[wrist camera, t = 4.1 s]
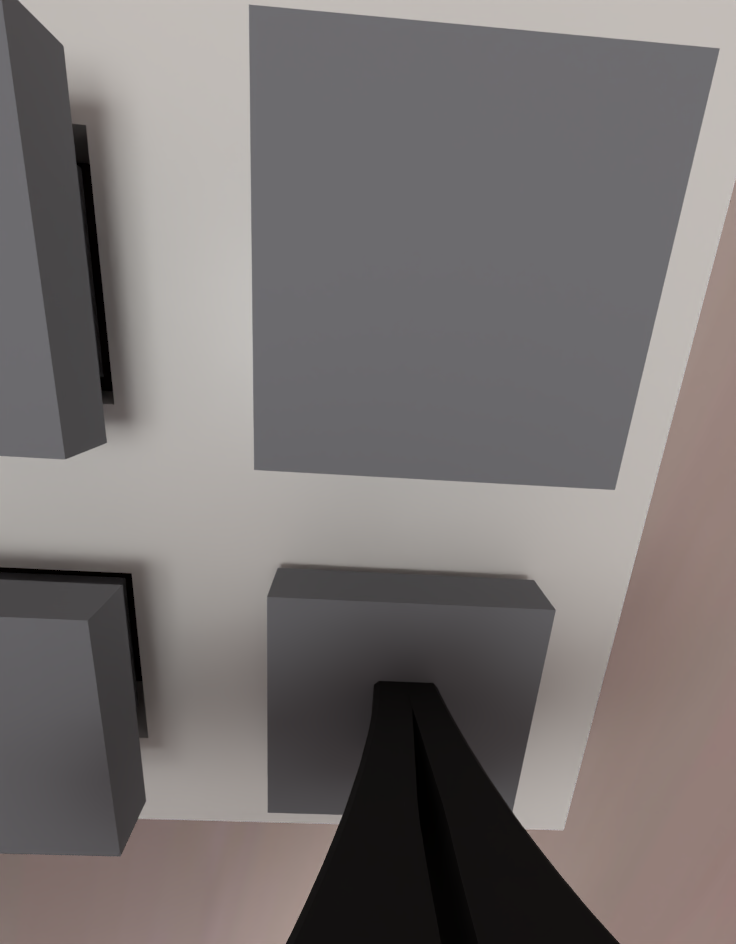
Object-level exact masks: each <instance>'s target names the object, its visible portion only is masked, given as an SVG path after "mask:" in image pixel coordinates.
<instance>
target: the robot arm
mask: <svg viewBox="0 0 736 944" xmlns="http://www.w3.org/2000/svg"><path fill="white" fill-rule="evenodd" d="M286 944H620V943H619V942H618V941H617V940H616V939H615V938H614V937H613V936H612V935H611V933H610V932H609V931H608V930H607V929H606V928H605V927H604V926H603V925H602V923H601V922H600V921H599V920H598V919H597V918H596V917H595V916H594V915H593V913H592V912H591V911H590V910H589V909H588V908H587V907H586V905H585V904H584V903H583V902H582V901H581V899H580V898H579V897H578V896H577V895H576V893H575V892H574V891H573V890H572V888H571V887H570V886H569V885H568V884H567V882H566V881H565V880H564V879H563V878H562V876H561V875H560V874H559V873H558V872H557V870H556V869H555V868H554V866H553V865H552V864H551V863H550V861H549V860H548V859H547V858H546V856H545V855H544V854H543V852H542V851H541V850H540V849H539V847H538V846H537V845H536V843H535V842H534V841H533V839H532V838H531V837H530V835H529V834H528V833H527V831H526V830H525V829H524V827H523V826H522V825H521V823H520V822H519V820H518V819H517V818H516V816H515V815H514V813H513V812H512V810H511V809H510V808H509V806H508V805H507V803H506V802H505V800H504V799H503V798H502V796H501V795H500V793H499V792H498V790H497V789H496V787H495V786H494V784H493V783H492V781H491V780H490V778H489V777H488V775H487V774H486V772H485V770H484V769H483V767H482V766H481V764H480V762H479V761H478V759H477V758H476V756H475V754H474V753H473V751H472V750H471V748H470V746H469V745H468V743H467V741H466V740H465V738H464V736H463V735H462V733H461V731H460V729H459V728H458V726H457V724H456V722H455V720H454V719H453V717H452V715H451V713H450V711H449V710H448V708H447V706H446V704H445V702H444V700H443V698H442V696H441V694H440V692H439V690H438V688H437V687H436V685H435V684H434V683H423V682H396V681H378V682H377V683H376V684H374V689H373V701H372V713H371V721H370V726H369V731H368V735H367V739H366V743H365V746H364V750H363V754H362V758H361V761H360V765H359V768H358V771H357V774H356V777H355V780H354V783H353V786H352V789H351V792H350V795H349V798H348V801H347V804H346V807H345V810H344V813H343V815H342V818H341V821H340V823H339V826H338V828H337V831H336V833H335V836H334V839H333V841H332V843H331V846H330V848H329V851H328V853H327V856H326V858H325V860H324V863H323V865H322V867H321V870H320V872H319V874H318V876H317V879H316V881H315V883H314V885H313V888H312V890H311V892H310V894H309V896H308V899H307V901H306V903H305V905H304V907H303V910H302V912H301V914H300V916H299V918H298V920H297V922H296V924H295V926H294V928H293V931H292V933H291V935H290V937H289V939H288V941H287V942H286Z"/></svg>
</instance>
